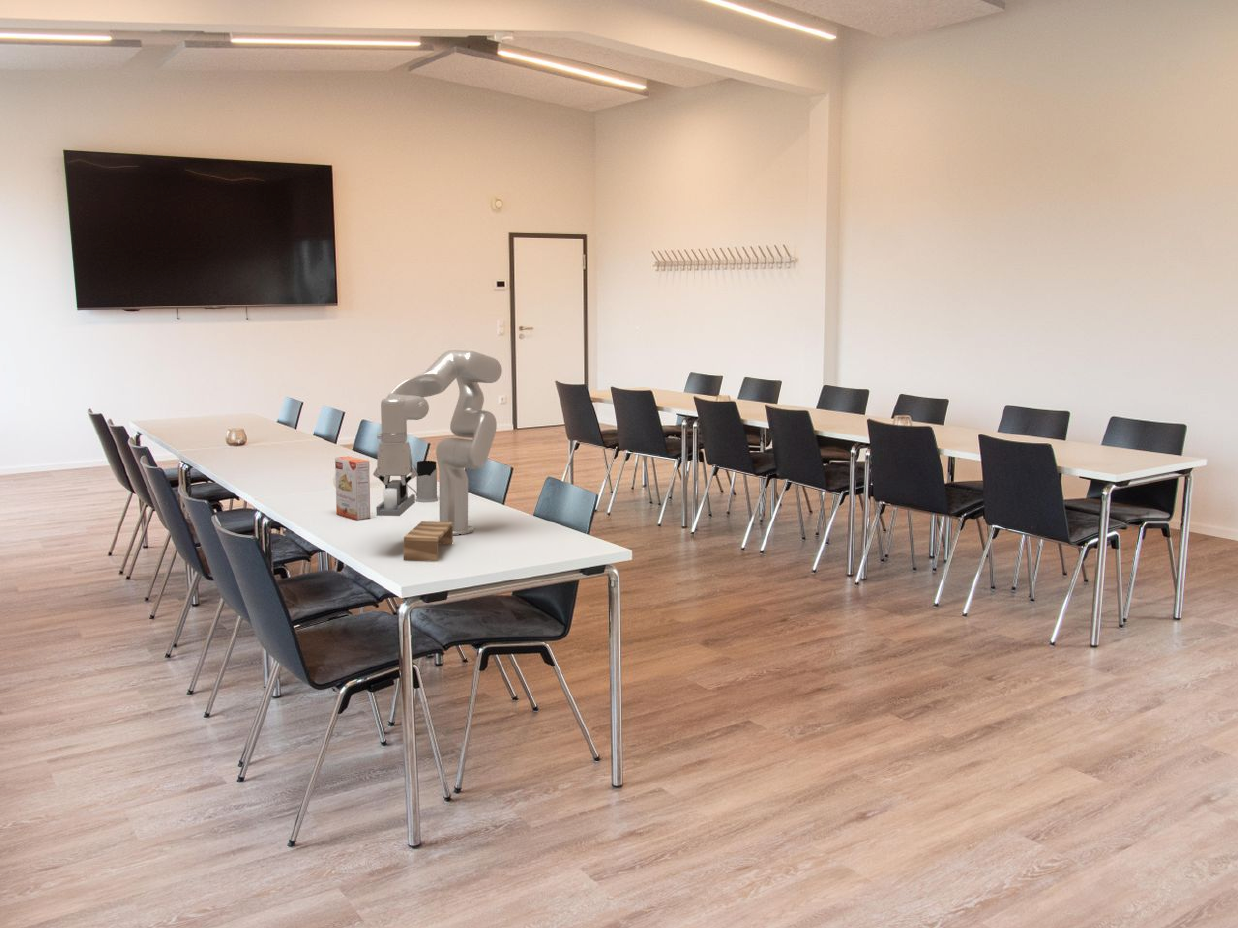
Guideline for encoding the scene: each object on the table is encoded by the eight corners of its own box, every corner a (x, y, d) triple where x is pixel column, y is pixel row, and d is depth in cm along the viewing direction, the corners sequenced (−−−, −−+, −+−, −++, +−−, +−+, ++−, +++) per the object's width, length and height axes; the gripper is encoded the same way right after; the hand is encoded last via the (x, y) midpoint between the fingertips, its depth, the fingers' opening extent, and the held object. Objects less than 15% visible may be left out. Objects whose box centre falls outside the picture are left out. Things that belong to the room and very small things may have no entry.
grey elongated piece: (392, 502, 339) (392, 475, 337) (414, 502, 338) (414, 476, 337) (376, 515, 319) (375, 487, 317) (399, 516, 319) (399, 488, 317)
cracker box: (335, 515, 381) (334, 457, 378) (350, 512, 385) (349, 455, 382) (355, 521, 371) (354, 461, 368) (370, 518, 375) (370, 460, 372)
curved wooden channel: (421, 542, 340) (421, 521, 339) (452, 543, 339) (452, 522, 338) (403, 560, 316) (403, 537, 315) (437, 561, 315) (437, 538, 314)
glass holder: (435, 502, 409) (435, 464, 407) (399, 501, 409) (398, 463, 407) (440, 498, 417) (440, 460, 415) (404, 497, 418) (403, 459, 416)
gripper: (364, 439, 321) (366, 499, 325) (418, 440, 321) (419, 500, 324) (370, 436, 329) (372, 494, 332) (424, 437, 328) (425, 495, 331)
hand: (395, 496), depth 328 cm, fingers closed on grey elongated piece, 3 cm apart
